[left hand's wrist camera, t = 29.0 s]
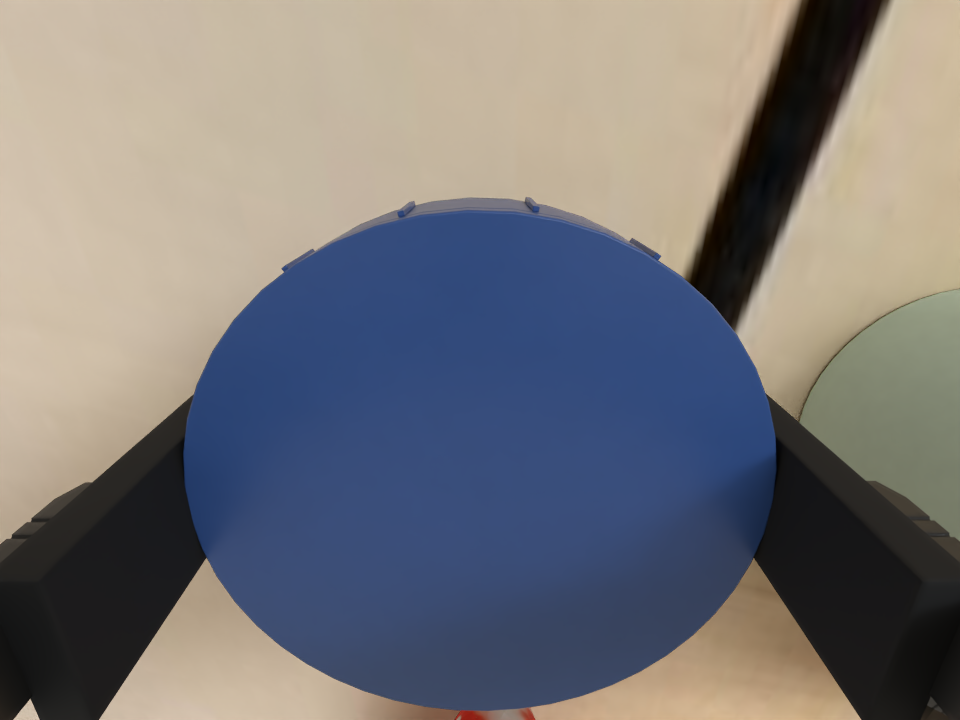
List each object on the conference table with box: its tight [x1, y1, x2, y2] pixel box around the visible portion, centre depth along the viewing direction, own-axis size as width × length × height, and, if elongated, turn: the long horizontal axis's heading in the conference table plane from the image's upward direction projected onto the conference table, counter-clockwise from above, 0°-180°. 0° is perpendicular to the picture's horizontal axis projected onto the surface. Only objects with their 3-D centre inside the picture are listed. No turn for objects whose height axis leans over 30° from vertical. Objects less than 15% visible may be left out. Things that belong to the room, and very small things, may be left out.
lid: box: [183, 197, 777, 711], centre depth 11 cm, size 11×11×2 cm
